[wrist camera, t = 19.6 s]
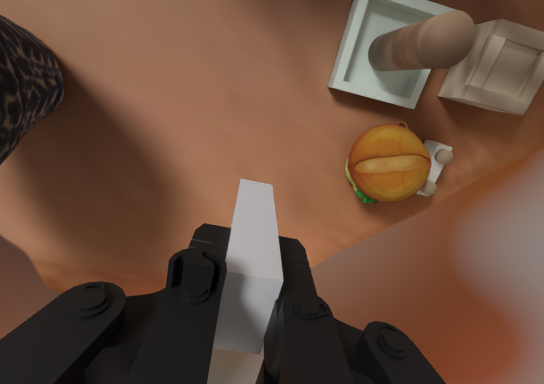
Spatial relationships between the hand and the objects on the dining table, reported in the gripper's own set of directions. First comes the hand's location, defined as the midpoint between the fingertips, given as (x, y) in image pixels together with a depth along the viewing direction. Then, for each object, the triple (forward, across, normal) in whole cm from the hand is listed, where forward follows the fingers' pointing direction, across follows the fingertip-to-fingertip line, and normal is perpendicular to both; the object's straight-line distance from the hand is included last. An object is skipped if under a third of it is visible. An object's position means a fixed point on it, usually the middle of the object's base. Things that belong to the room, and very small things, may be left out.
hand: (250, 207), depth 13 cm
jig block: (+24, +26, +13) cm, 38 cm away
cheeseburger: (+25, +17, -1) cm, 30 cm away
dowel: (+24, +13, +12) cm, 30 cm away
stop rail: (+24, +24, 0) cm, 34 cm away
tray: (+24, +13, +12) cm, 30 cm away
